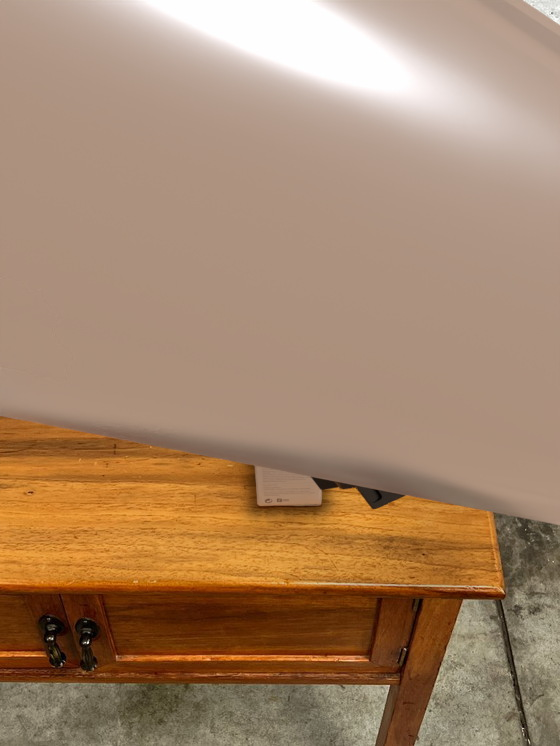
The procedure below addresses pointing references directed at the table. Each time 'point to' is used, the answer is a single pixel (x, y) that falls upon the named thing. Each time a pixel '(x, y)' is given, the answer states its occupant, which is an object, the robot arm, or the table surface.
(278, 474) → the cosmetic box
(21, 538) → the table surface
